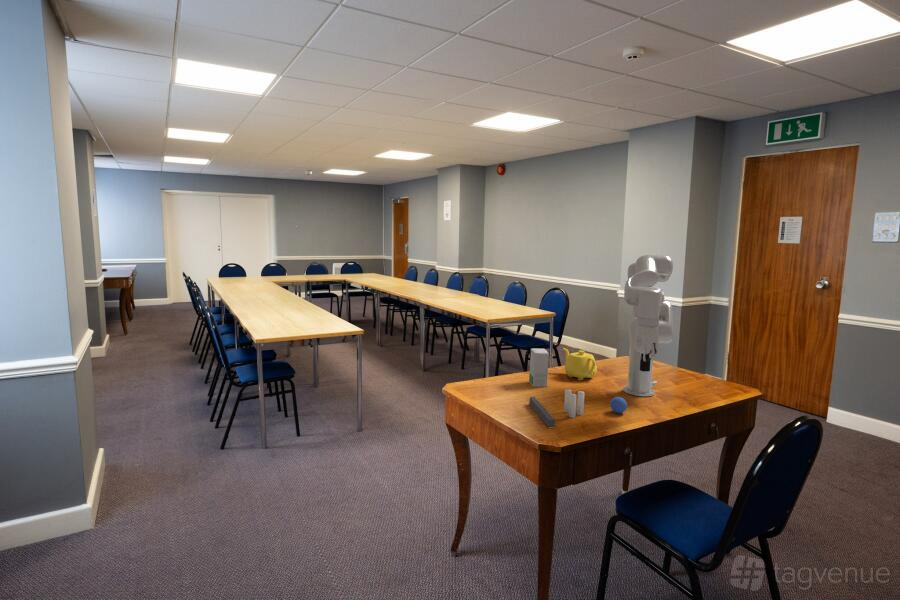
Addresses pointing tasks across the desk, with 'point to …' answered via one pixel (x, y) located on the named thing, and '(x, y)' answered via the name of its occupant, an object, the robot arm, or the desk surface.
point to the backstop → (542, 412)
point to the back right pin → (567, 400)
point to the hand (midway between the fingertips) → (644, 370)
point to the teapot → (580, 364)
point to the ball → (618, 405)
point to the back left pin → (572, 405)
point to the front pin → (580, 403)
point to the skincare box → (538, 367)
